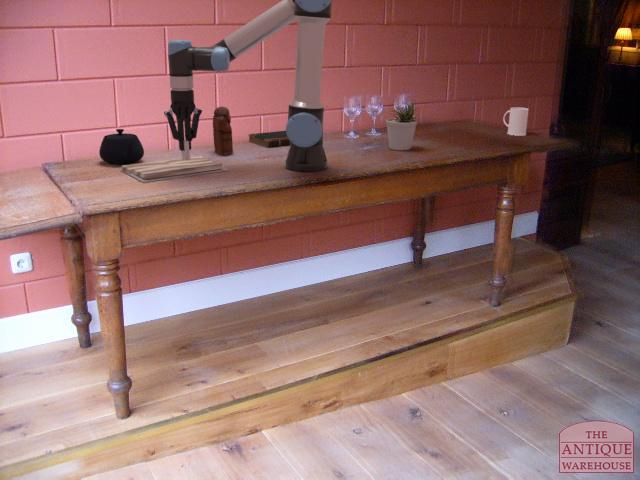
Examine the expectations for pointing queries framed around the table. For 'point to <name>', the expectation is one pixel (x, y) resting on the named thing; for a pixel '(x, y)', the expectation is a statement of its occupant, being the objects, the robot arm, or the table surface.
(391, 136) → the potted plant
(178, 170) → the plank
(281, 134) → the book
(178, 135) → the robot arm
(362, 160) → the table surface
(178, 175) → the tray
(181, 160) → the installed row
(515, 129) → the mug
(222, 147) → the wooden figurine
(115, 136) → the teapot
